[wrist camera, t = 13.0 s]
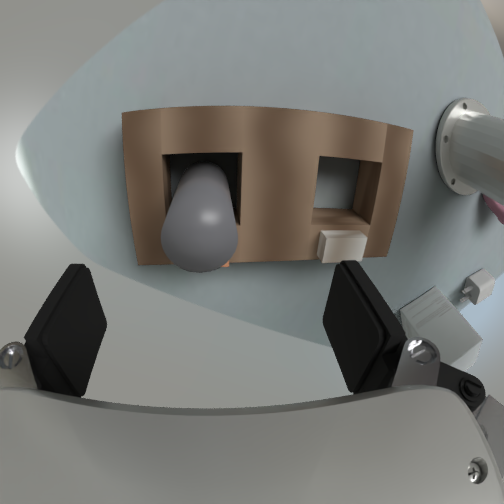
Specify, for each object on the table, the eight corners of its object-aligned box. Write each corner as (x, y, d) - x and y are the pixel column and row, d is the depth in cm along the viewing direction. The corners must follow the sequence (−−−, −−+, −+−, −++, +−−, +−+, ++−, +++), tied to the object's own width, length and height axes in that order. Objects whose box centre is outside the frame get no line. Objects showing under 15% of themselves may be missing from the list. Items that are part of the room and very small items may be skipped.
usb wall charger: (477, 284, 39) (490, 296, 35) (453, 298, 39) (465, 312, 36) (482, 266, 37) (495, 279, 33) (456, 280, 37) (470, 295, 34)
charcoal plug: (227, 156, 24) (238, 202, 14) (226, 198, 26) (237, 271, 16) (181, 157, 23) (157, 204, 13) (183, 199, 25) (165, 273, 15)
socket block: (389, 124, 24) (423, 133, 19) (369, 238, 30) (393, 264, 26) (135, 110, 21) (115, 113, 16) (146, 243, 27) (134, 274, 22)
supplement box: (402, 334, 41) (438, 391, 30) (398, 308, 37) (441, 371, 26) (436, 312, 40) (476, 364, 29) (436, 284, 36) (484, 339, 25)
